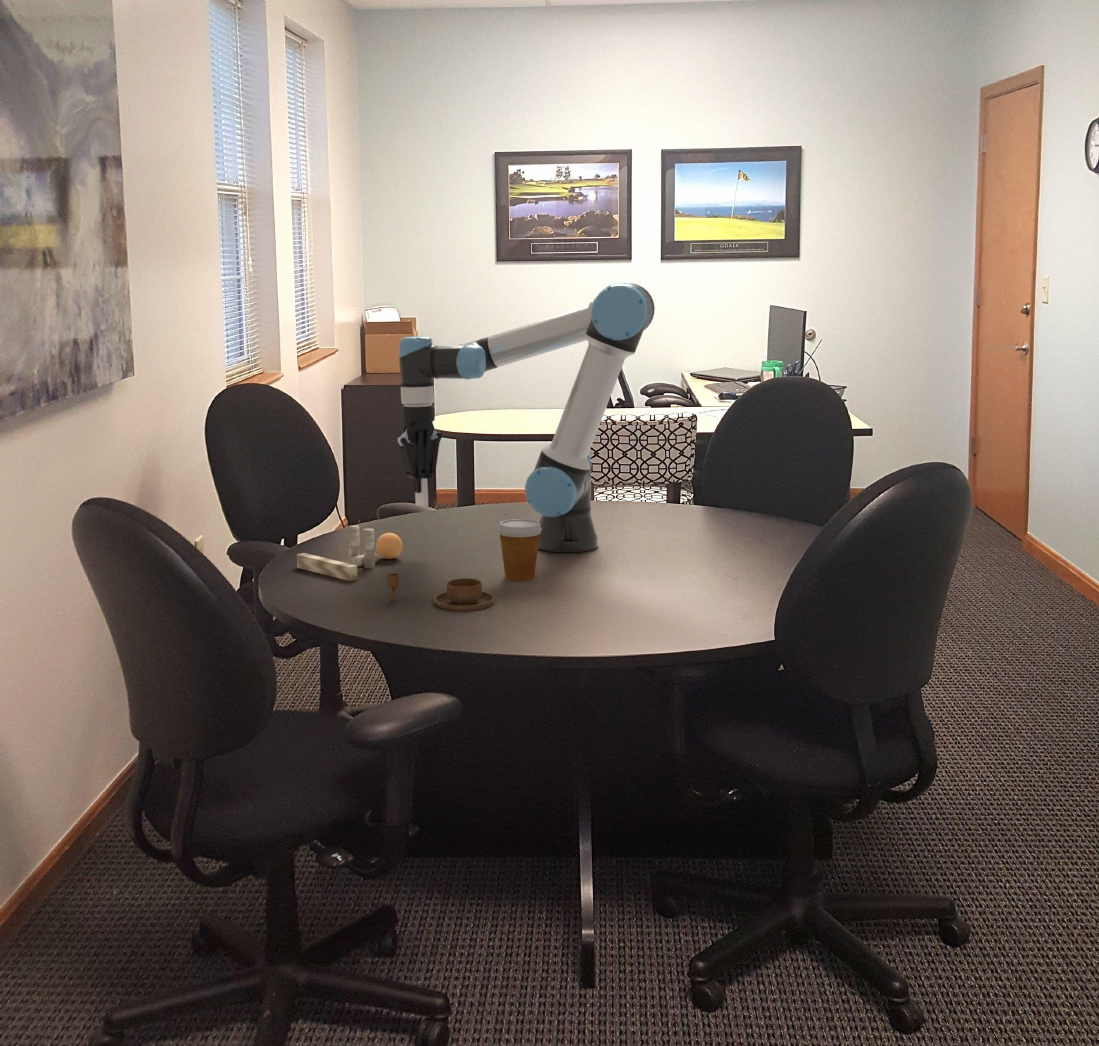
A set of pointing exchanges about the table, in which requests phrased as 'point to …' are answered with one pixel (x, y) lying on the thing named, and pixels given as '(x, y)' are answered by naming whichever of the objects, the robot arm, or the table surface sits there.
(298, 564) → the white marbled bar
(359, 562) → the front pin
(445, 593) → the place setting
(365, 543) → the back pin left
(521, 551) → the disposable coffee cup
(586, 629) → the table surface
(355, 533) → the back pin right
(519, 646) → the table surface
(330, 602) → the table surface
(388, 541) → the ball
